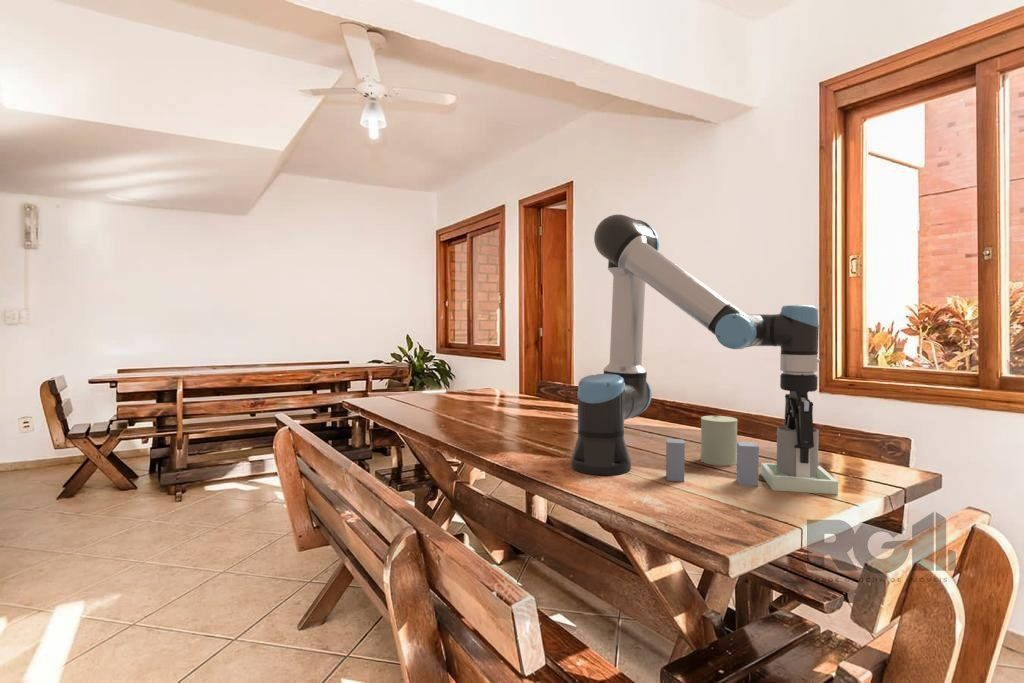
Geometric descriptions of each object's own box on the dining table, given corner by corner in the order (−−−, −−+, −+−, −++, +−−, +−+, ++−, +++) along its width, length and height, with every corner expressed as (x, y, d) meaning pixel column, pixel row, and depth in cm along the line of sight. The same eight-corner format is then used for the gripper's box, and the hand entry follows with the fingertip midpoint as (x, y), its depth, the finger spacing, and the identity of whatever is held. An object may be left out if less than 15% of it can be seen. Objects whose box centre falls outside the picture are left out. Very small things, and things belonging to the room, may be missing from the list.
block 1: (666, 480, 130) (666, 442, 130) (666, 475, 134) (666, 438, 134) (684, 481, 129) (684, 443, 129) (683, 476, 133) (683, 439, 133)
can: (731, 457, 151) (731, 413, 151) (742, 466, 142) (742, 420, 142) (696, 456, 152) (697, 413, 152) (705, 465, 143) (705, 419, 142)
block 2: (739, 484, 126) (739, 445, 126) (736, 480, 130) (737, 442, 130) (758, 486, 125) (758, 446, 125) (754, 481, 129) (755, 442, 129)
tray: (772, 490, 122) (772, 477, 122) (760, 474, 135) (761, 462, 135) (837, 494, 119) (838, 481, 119) (819, 477, 132) (819, 465, 132)
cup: (816, 469, 129) (817, 427, 129) (819, 479, 121) (820, 433, 121) (776, 466, 132) (776, 424, 132) (776, 474, 125) (777, 430, 125)
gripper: (832, 378, 115) (830, 486, 116) (804, 369, 135) (802, 460, 136) (792, 377, 117) (791, 483, 118) (770, 368, 137) (769, 459, 138)
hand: (797, 471), depth 127 cm, fingers closed on cup, 8 cm apart
